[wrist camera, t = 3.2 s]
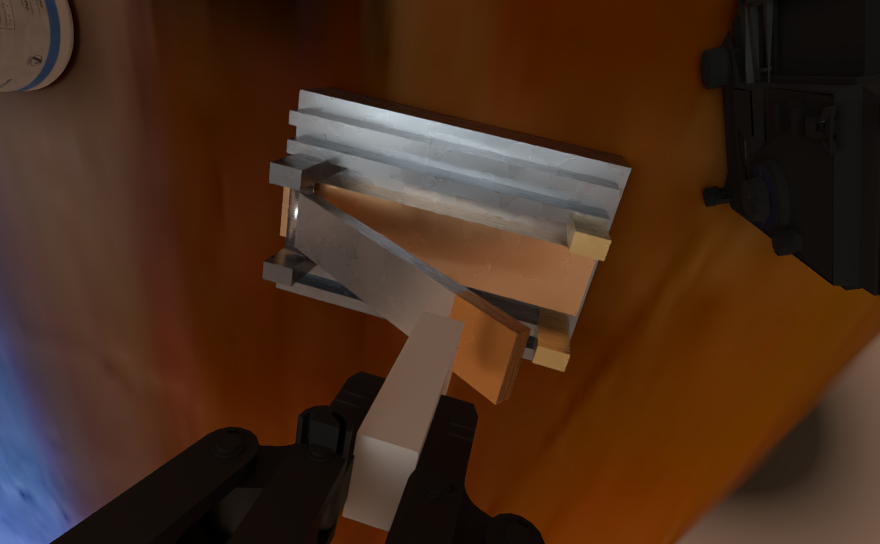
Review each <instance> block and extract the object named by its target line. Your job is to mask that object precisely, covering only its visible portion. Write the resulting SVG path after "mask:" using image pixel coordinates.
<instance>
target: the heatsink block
mask: <svg viewBox="0 0 880 544" xmlns="http://www.w3.org/2000/svg"><path fill="white" fill-rule="evenodd" d="M289 124H291V125H295V126H297V131H296V137H295V138H291V139H288V142H287V153H290V154H294V155H291V156H288V157H285V158H282V159H279V160H276V161H273V162H270V176H269V183H273V184H276V185H280V186H284V192H283V205H282V218H281V230H280V235H281V236H284V237H286V230H287V218H288V206H289V195H290V188H292V189H296V190H299V191H300V190H302V189H304V188H307V187H309V186H311V185H313V184H314V193H315V194H317V195H319V196H320V197H322V198H323V199H325V200H326V201H328V202H330V203H331V204H333V205H334V206H336V207H338V208H339V209H341V210H342V211H344V212H346V213H347V214H349V215H350V216H352V217H354V218H355V219H357V220H358V221H360V222H362V223H363V224H365V225H366V226H368V227H370V228H371V229H373V230H374V231H376V232H378V233H379V234H381V235H382V236H384V237H386V238H387V239H389V240H390V241H392V242H394V243H395V244H397V245H398V246H400V247H402V248H403V249H405V250H406V251H408V252H410V253H411V254H413V255H414V256H416V257H417V258H419V259H421V260H422V261H424V262H425V263H427V264H429V265H430V266H432V267H433V268H435V269H437V270H438V271H440V272H441V273H443V274H445V275H446V276H448V277H449V278H451V279H453V280H454V281H456V282H457V283H459V284H461V285H462V286H464V287H465V288H467V289H469V290H470V291H472V292H473V293H475V294H477V295H478V296H480V297H481V298H483V299H485V300H486V301H488V302H489V303H491V304H493V305H494V306H496V307H497V308H499V309H501V310H502V311H504V312H505V313H507V314H508V315H510V316H512V317H513V318H515V319H516V320H518V321H520V322H521V323H523V324H524V325H526V326H528V327H529V328H531V331H530V334H529V337H528V340H527V344H526V347H525V350H524V353H523V356H522V358H524V359H528V360H531V361H532V363H535V364H538V365H542V366H545V367H549V368H552V369H556V370H559V371H563V372H564V371H565V368H566V366H567V363H568V360H569V357H570V340H571V337H572V334H573V331H574V328H575V326H576V323H577V320H578V317H579V314H580V311H581V309H582V306H583V303H584V300H585V297H586V295H587V292H588V289H589V286H590V283H591V281H592V278H593V275H594V272H595V269H596V267H597V264H598V261H599V260H601V261H604V260H605V258H606V255H607V252H608V249H609V246H610V244H611V241H612V240H611V238H610V235H609V230H610V227H611V224H612V222H613V219H614V216H615V213H616V210H617V208H618V205H619V202H620V199H621V196H622V194H623V191H624V188H625V185H626V182H627V179H628V177H629V174H630V171H631V167H630V166H629V165H628V164H627V162H626V161H625V160H624V159H623V157H622V156H618V155H614V154H610V153H605V152H601V151H597V150H593V149H589V148H584V147H580V146H576V145H572V144H567V143H563V142H559V141H555V140H550V139H546V138H542V137H538V136H533V135H529V134H525V133H521V132H517V131H512V130H508V129H504V128H500V127H495V126H491V125H487V124H483V123H478V122H474V121H470V120H466V119H461V118H457V117H453V116H449V115H445V114H440V113H436V112H432V111H428V110H423V109H419V108H415V107H411V106H406V105H402V104H398V103H394V102H390V101H385V100H381V99H377V98H373V97H368V96H364V95H360V94H356V93H351V92H347V91H343V90H339V89H334V88H330V87H327V88H314V89H300V96H299V107H298V109H294V110H290V116H289ZM263 279H266V280H269V281H273V282H276V288H279V289H283V290H286V291H290V292H293V293H297V294H300V295H304V296H307V297H311V298H314V299H318V300H321V301H325V302H328V303H332V304H335V305H339V306H342V307H346V308H349V309H353V310H356V311H360V312H363V313H367V314H370V315H374V316H377V317H381V318H384V317H383V316H382V315H381V314H379V313H378V312H377V311H375V310H374V309H373V308H372V307H370V306H369V305H368V304H367V303H365V302H364V301H363V300H361V299H360V298H359V297H358V296H356V295H355V294H354V293H353V292H351V291H350V290H349V289H348V288H346V287H345V286H344V285H342V284H341V283H340V282H339V281H337V280H336V279H335V278H334V277H332V276H331V275H330V274H328V273H327V272H326V271H325V270H323V269H322V268H321V267H320V266H318V265H317V264H316V263H315V262H313V261H312V260H311V259H309V258H308V257H307V256H306V255H304V254H303V253H302V252H292V251H289V250H287V249H286V248H283V249H282V250H280V251H279V252H277V253H276V254H274V255H273V256H271V257H270V258H268V259H267V260H265V261H264V266H263ZM384 319H386V318H384Z"/></svg>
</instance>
